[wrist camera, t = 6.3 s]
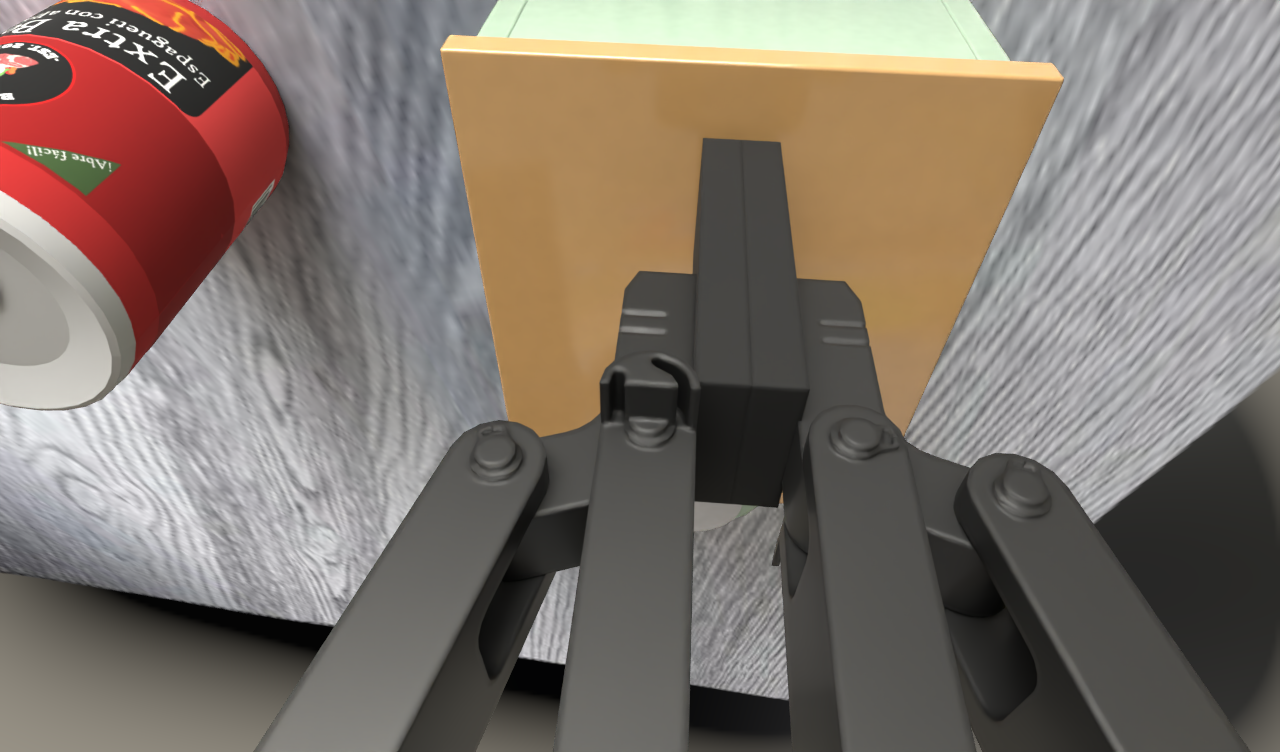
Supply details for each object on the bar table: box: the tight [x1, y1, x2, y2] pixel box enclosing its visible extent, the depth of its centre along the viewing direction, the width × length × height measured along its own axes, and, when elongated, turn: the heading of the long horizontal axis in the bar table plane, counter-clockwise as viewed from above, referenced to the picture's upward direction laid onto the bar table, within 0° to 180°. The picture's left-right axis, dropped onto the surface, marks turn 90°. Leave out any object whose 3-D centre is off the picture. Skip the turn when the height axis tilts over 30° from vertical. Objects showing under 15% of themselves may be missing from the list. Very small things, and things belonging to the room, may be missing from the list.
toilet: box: [477, 0, 1011, 61], centre depth 22 cm, size 13×11×9 cm
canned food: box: [0, 0, 289, 410], centre depth 21 cm, size 8×8×11 cm
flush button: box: [694, 502, 742, 532], centre depth 30 cm, size 4×4×2 cm
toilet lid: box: [440, 35, 1064, 504], centre depth 19 cm, size 14×11×1 cm
